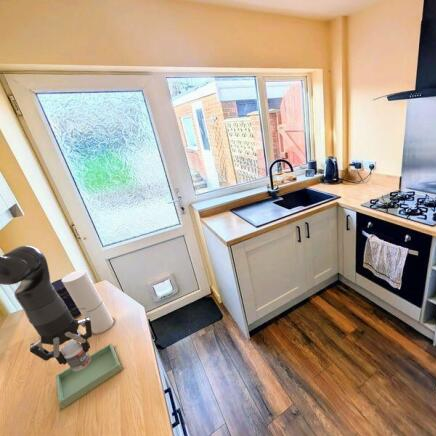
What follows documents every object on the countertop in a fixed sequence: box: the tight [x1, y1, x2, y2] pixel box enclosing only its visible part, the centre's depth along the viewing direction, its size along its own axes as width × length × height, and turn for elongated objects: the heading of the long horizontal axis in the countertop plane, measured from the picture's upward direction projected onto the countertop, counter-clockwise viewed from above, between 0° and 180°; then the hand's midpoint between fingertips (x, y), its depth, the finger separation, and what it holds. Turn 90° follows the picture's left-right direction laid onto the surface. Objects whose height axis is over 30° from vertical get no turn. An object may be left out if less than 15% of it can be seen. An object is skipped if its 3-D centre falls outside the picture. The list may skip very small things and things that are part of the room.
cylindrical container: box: [61, 269, 114, 335], centre depth 93 cm, size 7×7×25 cm
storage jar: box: [51, 278, 82, 319], centre depth 105 cm, size 10×10×15 cm
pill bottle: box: [60, 339, 91, 371], centre depth 75 cm, size 5×5×8 cm
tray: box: [55, 343, 123, 409], centre depth 79 cm, size 15×12×2 cm
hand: (76, 355), depth 75 cm, fingers closed on pill bottle, 4 cm apart
